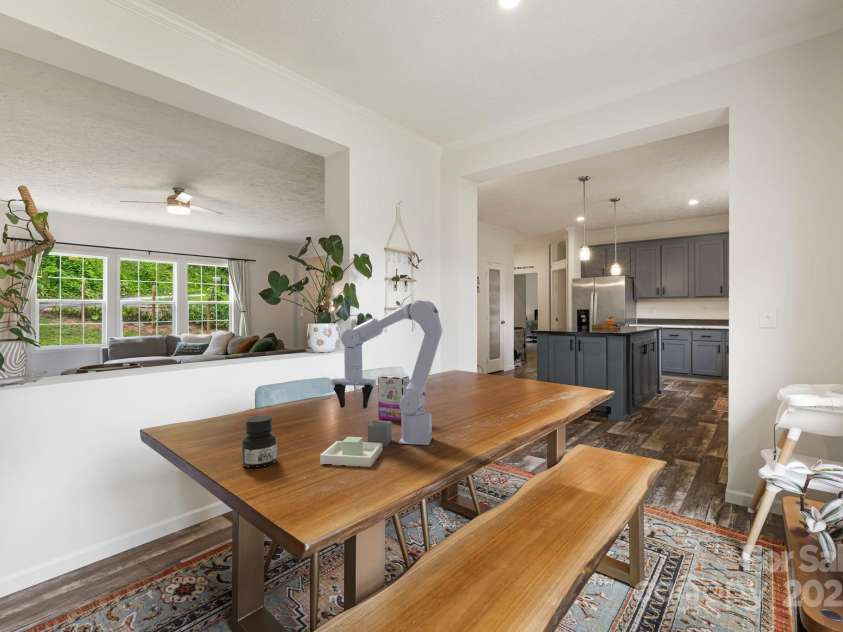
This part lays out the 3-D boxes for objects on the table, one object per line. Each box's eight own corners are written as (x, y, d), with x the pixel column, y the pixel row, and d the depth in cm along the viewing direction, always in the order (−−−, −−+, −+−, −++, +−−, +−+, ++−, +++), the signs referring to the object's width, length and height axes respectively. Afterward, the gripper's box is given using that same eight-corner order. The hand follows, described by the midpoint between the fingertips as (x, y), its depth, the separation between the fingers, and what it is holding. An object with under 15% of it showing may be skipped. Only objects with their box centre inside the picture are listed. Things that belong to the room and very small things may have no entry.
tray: (382, 451, 120) (382, 443, 120) (370, 467, 108) (370, 457, 108) (336, 449, 123) (336, 440, 123) (320, 464, 111) (320, 455, 111)
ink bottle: (244, 471, 106) (243, 425, 106) (236, 461, 113) (236, 418, 113) (282, 463, 112) (282, 419, 112) (273, 454, 119) (272, 412, 119)
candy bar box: (410, 419, 155) (409, 376, 155) (403, 422, 151) (402, 378, 151) (385, 416, 160) (384, 374, 160) (377, 419, 156) (377, 375, 156)
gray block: (391, 440, 131) (391, 421, 131) (386, 446, 125) (386, 426, 125) (373, 439, 132) (373, 420, 132) (367, 445, 126) (367, 425, 126)
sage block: (362, 453, 117) (362, 437, 117) (357, 458, 113) (357, 442, 113) (347, 452, 118) (347, 436, 118) (342, 457, 114) (342, 441, 114)
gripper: (327, 367, 132) (328, 409, 132) (371, 368, 130) (371, 411, 130) (335, 364, 139) (336, 404, 139) (377, 365, 137) (377, 406, 137)
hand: (353, 407), depth 135 cm, fingers open, 7 cm apart
